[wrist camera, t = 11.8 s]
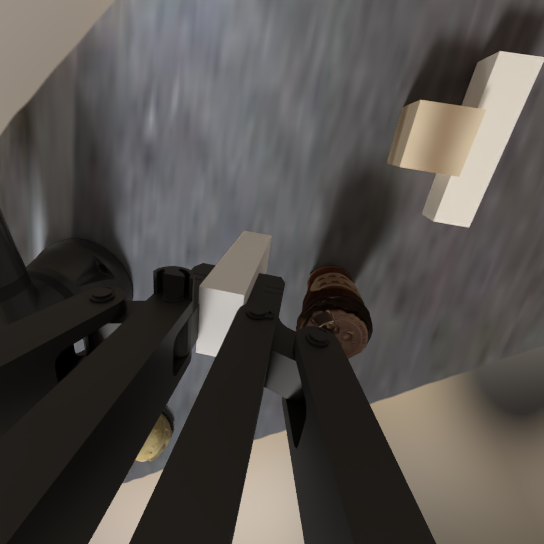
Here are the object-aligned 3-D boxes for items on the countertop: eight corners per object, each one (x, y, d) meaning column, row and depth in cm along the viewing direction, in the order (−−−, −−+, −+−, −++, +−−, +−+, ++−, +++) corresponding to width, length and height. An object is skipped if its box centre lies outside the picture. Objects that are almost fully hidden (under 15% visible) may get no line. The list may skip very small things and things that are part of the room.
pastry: (114, 390, 58) (86, 425, 51) (174, 403, 57) (154, 441, 50) (120, 436, 64) (95, 474, 57) (174, 449, 63) (156, 489, 56)
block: (386, 163, 35) (399, 166, 30) (402, 107, 33) (420, 99, 27) (436, 171, 35) (459, 176, 29) (457, 115, 32) (486, 109, 27)
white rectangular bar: (421, 213, 37) (433, 221, 33) (477, 62, 30) (499, 51, 26) (453, 219, 37) (469, 227, 33) (517, 67, 30) (545, 57, 26)
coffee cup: (305, 251, 41) (302, 294, 29) (365, 260, 40) (386, 308, 28) (296, 304, 44) (290, 362, 33) (351, 313, 44) (364, 375, 32)
